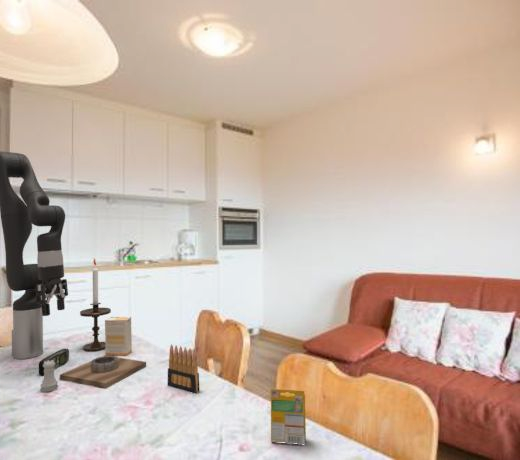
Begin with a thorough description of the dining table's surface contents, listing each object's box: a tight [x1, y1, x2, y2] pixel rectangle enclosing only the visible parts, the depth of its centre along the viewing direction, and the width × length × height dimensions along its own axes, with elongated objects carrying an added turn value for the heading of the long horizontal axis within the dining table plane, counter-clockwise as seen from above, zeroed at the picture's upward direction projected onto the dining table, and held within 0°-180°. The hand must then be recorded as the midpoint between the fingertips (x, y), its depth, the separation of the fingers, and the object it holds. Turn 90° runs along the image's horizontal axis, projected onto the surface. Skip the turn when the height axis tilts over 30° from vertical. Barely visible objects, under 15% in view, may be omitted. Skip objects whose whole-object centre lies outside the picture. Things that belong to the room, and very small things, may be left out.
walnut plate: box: [59, 354, 147, 389], centre depth 117 cm, size 18×18×2 cm
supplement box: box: [104, 316, 133, 356], centre depth 135 cm, size 8×5×13 cm, turn 84°
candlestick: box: [79, 258, 112, 353], centre depth 142 cm, size 11×11×35 cm
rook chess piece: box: [39, 360, 59, 393], centre depth 105 cm, size 4×4×8 cm
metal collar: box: [91, 355, 120, 373], centre depth 117 cm, size 8×8×2 cm
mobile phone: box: [38, 348, 70, 377], centre depth 122 cm, size 5×3×15 cm
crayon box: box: [270, 388, 307, 445], centre depth 79 cm, size 7×3×12 cm, turn 81°
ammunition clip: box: [166, 344, 200, 394], centre depth 105 cm, size 11×2×12 cm, turn 60°
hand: (53, 312), depth 123 cm, fingers open, 8 cm apart
